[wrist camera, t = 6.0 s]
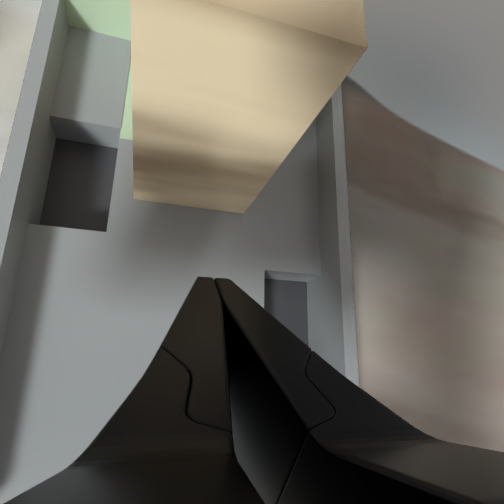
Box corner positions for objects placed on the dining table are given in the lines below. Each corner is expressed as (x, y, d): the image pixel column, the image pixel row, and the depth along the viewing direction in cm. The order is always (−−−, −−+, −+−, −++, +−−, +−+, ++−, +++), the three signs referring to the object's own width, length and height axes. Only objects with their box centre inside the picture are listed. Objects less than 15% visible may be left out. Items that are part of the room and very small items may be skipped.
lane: (319, 482, 17) (407, 545, 11) (-32, 513, 13) (-156, 629, 7) (308, 104, 23) (363, 23, 17) (64, 46, 19) (34, -81, 13)
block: (243, 213, 17) (367, 48, 8) (133, 199, 16) (129, -23, 7) (246, 91, 19) (348, -154, 10) (149, 69, 18) (163, -241, 9)
